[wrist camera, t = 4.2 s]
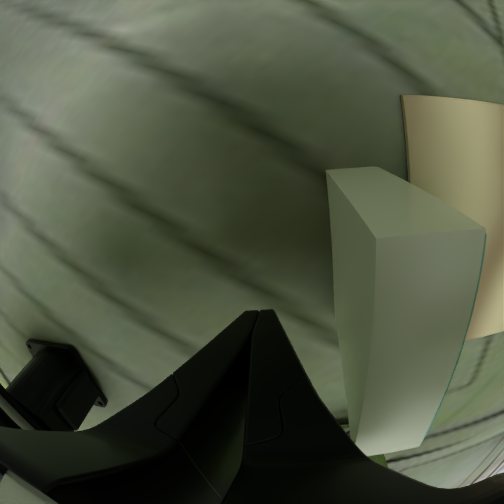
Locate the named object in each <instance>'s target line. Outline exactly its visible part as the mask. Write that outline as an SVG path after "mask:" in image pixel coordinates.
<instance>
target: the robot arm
mask: <svg viewBox="0 0 504 504" xmlns="http://www.w3.org/2000/svg"><path fill="white" fill-rule="evenodd" d="M26 346H27V347H28V349H29V351H30V353H31V354H32V356H33V358H32V359H31V360H30V361H29V363H28V364H27V365H26V366H25V367H24V368H23V369H22V370H21V372H20V373H19V374H18V375H17V376H16V377H15V379H14V380H13V381H12V382H11V383H10V384H9V386H8V387H7V388H6V389H5V388H4V387H3V386H2V385H1V384H0V504H504V473H500V474H497V475H494V476H492V477H489V478H486V479H484V480H482V481H479V482H477V483H474V484H472V485H469V486H465V487H462V488H453V489H445V488H437V487H433V486H429V485H427V484H424V483H422V482H419V481H417V480H415V479H412V478H410V477H407V476H405V475H403V474H401V473H398V472H396V471H394V470H392V469H390V468H387V467H385V466H383V465H381V464H379V463H377V462H375V461H373V460H372V459H370V458H369V457H368V456H366V455H365V454H364V453H363V452H362V451H361V450H360V449H359V448H358V446H357V445H356V444H355V443H354V442H353V440H352V439H351V438H350V437H349V435H348V434H347V433H346V432H345V430H344V429H343V428H342V427H341V425H340V424H339V423H338V422H337V420H336V419H335V418H334V416H333V415H332V414H331V413H330V411H329V410H328V409H327V407H326V406H325V404H324V403H323V402H322V400H321V399H320V397H319V395H318V394H317V392H316V390H315V389H314V387H313V385H312V383H311V381H310V379H309V377H308V376H307V374H306V372H305V370H304V368H303V366H302V364H301V362H300V360H299V358H298V356H297V354H296V352H295V350H294V348H293V346H292V344H291V342H290V340H289V338H288V336H287V334H286V332H285V331H284V329H283V327H282V325H281V323H280V321H279V319H278V317H277V315H276V313H275V311H274V310H273V309H267V310H260V312H259V311H258V310H250V311H245V312H243V313H242V314H241V315H240V316H239V317H238V318H237V319H236V320H234V321H233V322H232V323H231V324H230V325H229V326H228V327H226V328H225V329H224V330H223V331H222V332H221V333H219V334H218V335H217V336H216V337H215V338H214V339H212V340H211V341H210V342H209V343H208V344H207V345H206V346H204V347H203V348H202V349H201V350H200V351H198V352H197V353H196V354H195V355H194V356H193V357H191V358H190V359H189V360H188V361H187V362H185V363H184V364H183V365H182V366H181V367H179V368H178V369H177V370H176V371H175V372H173V374H171V375H170V376H168V377H167V378H166V379H165V380H164V381H162V382H161V383H160V384H159V385H157V386H156V387H155V388H153V389H152V390H151V391H149V392H148V393H147V394H145V395H144V396H142V397H141V398H139V399H138V400H136V401H135V402H133V403H132V404H130V405H129V406H127V407H126V408H124V409H123V410H121V411H119V412H118V413H116V414H115V415H113V416H112V417H110V418H108V419H107V420H105V421H103V422H102V423H100V424H98V425H97V426H95V427H92V428H90V429H87V430H83V431H76V430H78V429H79V427H80V426H81V424H82V422H83V421H84V419H85V417H86V416H87V414H88V413H89V411H90V409H91V408H92V406H93V405H95V406H100V407H106V405H107V401H106V399H105V398H104V396H103V395H102V393H101V392H100V390H99V389H98V387H97V386H96V384H95V382H94V381H93V379H92V377H91V376H90V374H89V372H88V371H87V369H86V367H85V366H84V364H83V362H82V360H81V359H80V357H79V355H78V353H77V352H76V350H75V349H74V348H73V347H71V346H68V345H61V344H54V343H48V342H42V341H36V340H31V339H29V340H28V341H27V342H26ZM74 430H75V431H74Z"/></svg>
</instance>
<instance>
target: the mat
mask: <svg viewBox="0 0 504 504" xmlns="http://www.w3.org/2000/svg"><path fill="white" fill-rule="evenodd" d="M400 97H401V105H402V112H403V121H404V130H405V141H406V153H407V170H408V182H409V183H411V184H413V185H414V186H416V187H418V188H420V189H422V190H424V191H425V192H427V193H429V194H431V195H433V196H434V197H436V198H438V199H440V200H441V201H443V202H445V203H446V204H448V205H450V206H451V207H453V208H455V209H456V210H458V211H460V212H461V213H463V214H464V215H466V216H468V217H469V218H471V219H472V220H474V221H475V222H477V223H478V224H480V225H481V226H483V227H484V228H486V230H485V233H486V234H487V237H486V245H485V253H484V259H483V265H482V271H481V277H480V282H479V287H478V292H477V296H476V300H475V305H474V309H473V313H472V317H471V321H470V324H469V328H468V331H467V335H466V338H465V341H467V340H472V339H476V338H480V337H483V336H487V335H491V334H495V333H498V332H502V331H504V105H501V104H495V103H489V102H482V101H475V100H467V99H459V98H449V97H436V96H420V95H400Z"/></svg>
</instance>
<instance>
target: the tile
mask: <svg viewBox="0 0 504 504" xmlns="http://www.w3.org/2000/svg"><path fill="white" fill-rule="evenodd" d="M326 179H327V189H328V200H329V212H330V225H331V240H332V258H333V282H334V316H335V322H336V328H337V334H338V340H339V347H340V354H341V361H342V368H343V375H344V383H345V391H346V400H347V409H348V418H349V428H350V438H351V439H352V440H353V442H354V443H355V444H356V445H357V446H358V448H359V449H360V450H361V451H362V452H363V453H364V454H365V455H366V456H373V455H379V454H385V453H391V452H396V451H401V450H406V449H410V448H415V447H419V446H420V444H421V442H422V440H423V438H424V437H426V435H427V433H428V431H429V429H430V427H431V425H432V423H433V421H434V419H435V417H436V414H437V412H438V410H439V408H440V406H441V403H442V401H443V399H444V396H445V394H446V392H447V389H448V387H449V384H450V382H451V379H452V376H453V374H454V371H455V368H456V365H457V363H458V360H459V357H460V354H461V351H462V348H463V345H464V341H465V338H466V335H467V331H468V328H469V324H470V321H471V317H472V313H473V309H474V305H475V300H476V296H477V292H478V287H479V282H480V277H481V271H482V265H483V259H484V253H485V245H486V237H487V234H486V233H485V230H486V228H484V227H483V226H481V225H480V224H478V223H477V222H475V221H474V220H472V219H471V218H469V217H468V216H466V215H464V214H463V213H461V212H460V211H458V210H456V209H455V208H453V207H451V206H450V205H448V204H446V203H445V202H443V201H441V200H440V199H438V198H436V197H434V196H433V195H431V194H429V193H427V192H425V191H424V190H422V189H420V188H418V187H416V186H414V185H413V184H411V183H409V182H407V181H405V180H403V179H401V178H399V177H397V176H395V175H393V174H391V173H389V172H387V171H385V170H383V169H381V168H379V167H377V166H373V167H357V168H343V169H331V170H326Z"/></svg>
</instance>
